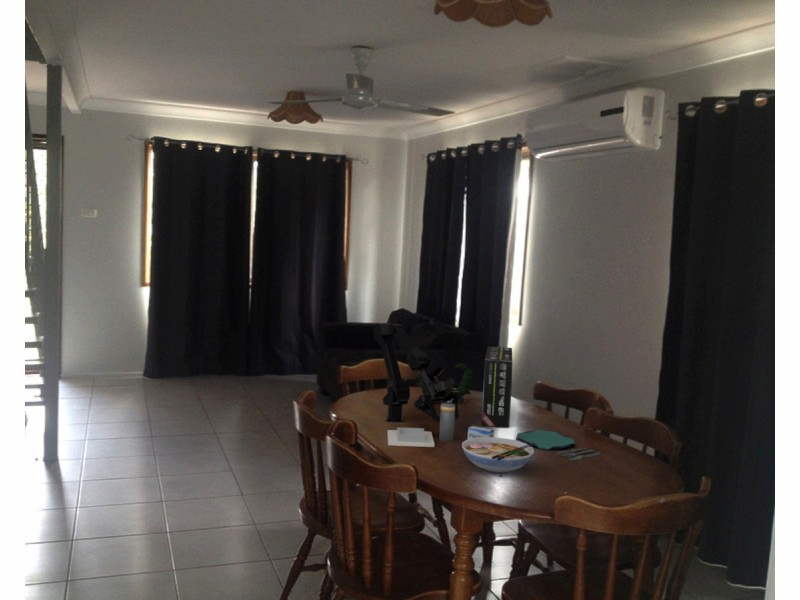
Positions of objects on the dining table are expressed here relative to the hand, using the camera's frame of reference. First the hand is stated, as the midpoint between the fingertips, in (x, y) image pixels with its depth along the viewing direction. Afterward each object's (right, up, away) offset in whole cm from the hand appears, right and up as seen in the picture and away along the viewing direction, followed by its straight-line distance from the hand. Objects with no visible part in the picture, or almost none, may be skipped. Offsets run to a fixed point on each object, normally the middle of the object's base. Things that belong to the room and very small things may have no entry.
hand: (448, 420), depth 259 cm
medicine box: (+10, -9, -13) cm, 19 cm away
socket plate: (-14, -7, -1) cm, 15 cm away
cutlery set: (+38, -10, -1) cm, 39 cm away
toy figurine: (+1, -3, +58) cm, 58 cm away
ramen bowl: (+13, -11, -30) cm, 35 cm away
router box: (+22, -5, +39) cm, 45 cm away
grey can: (-1, -7, +1) cm, 7 cm away
